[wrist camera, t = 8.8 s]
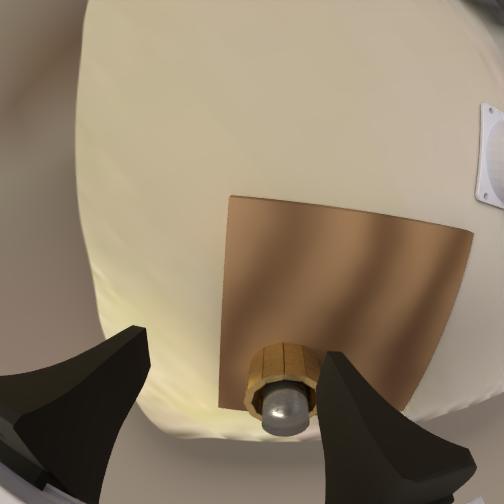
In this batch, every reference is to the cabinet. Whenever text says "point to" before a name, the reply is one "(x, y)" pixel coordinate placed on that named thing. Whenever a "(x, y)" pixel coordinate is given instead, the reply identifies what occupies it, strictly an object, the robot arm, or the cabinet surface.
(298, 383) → the steel piston
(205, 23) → the cabinet surface
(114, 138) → the cabinet surface
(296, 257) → the walnut board
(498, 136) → the robot arm
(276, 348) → the wooden barrel ring
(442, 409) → the cabinet surface
